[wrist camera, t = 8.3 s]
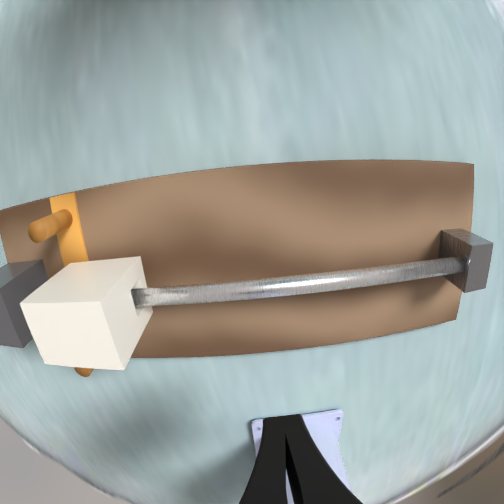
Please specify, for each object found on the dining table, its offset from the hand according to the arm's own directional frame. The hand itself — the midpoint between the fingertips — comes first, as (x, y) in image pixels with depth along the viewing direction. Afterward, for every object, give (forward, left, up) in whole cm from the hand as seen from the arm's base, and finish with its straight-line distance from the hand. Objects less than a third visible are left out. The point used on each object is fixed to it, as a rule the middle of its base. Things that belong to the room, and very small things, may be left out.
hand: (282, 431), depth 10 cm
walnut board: (+3, +2, -10) cm, 11 cm away
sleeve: (+3, +9, -8) cm, 13 cm away
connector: (+3, +17, -10) cm, 20 cm away
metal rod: (+3, 0, -10) cm, 11 cm away
